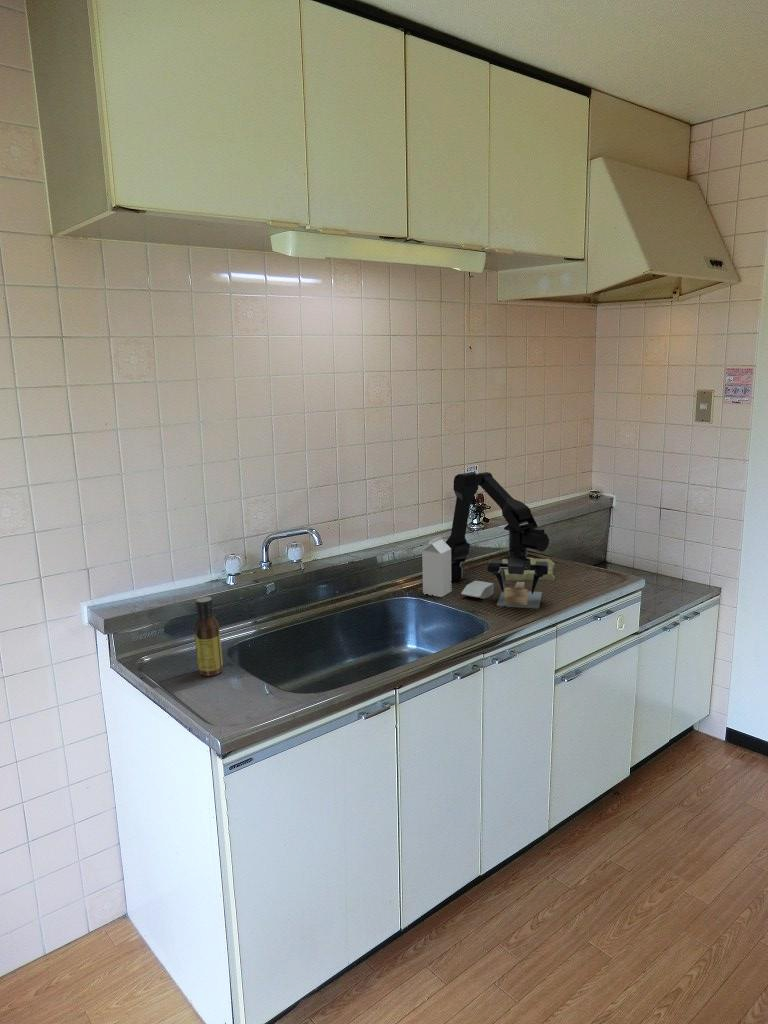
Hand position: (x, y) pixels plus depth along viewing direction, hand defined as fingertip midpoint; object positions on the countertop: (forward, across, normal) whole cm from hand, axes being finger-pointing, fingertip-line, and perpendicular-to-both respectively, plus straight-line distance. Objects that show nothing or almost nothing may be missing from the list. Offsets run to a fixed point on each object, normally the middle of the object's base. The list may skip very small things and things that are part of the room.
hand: (517, 592), depth 234 cm
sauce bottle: (+3, -71, -70) cm, 100 cm away
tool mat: (+3, 0, +2) cm, 4 cm away
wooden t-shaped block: (+2, 0, +2) cm, 3 cm away
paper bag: (+1, -12, +8) cm, 14 cm away
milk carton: (+3, -27, +4) cm, 27 cm away
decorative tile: (+4, +1, +34) cm, 34 cm away
